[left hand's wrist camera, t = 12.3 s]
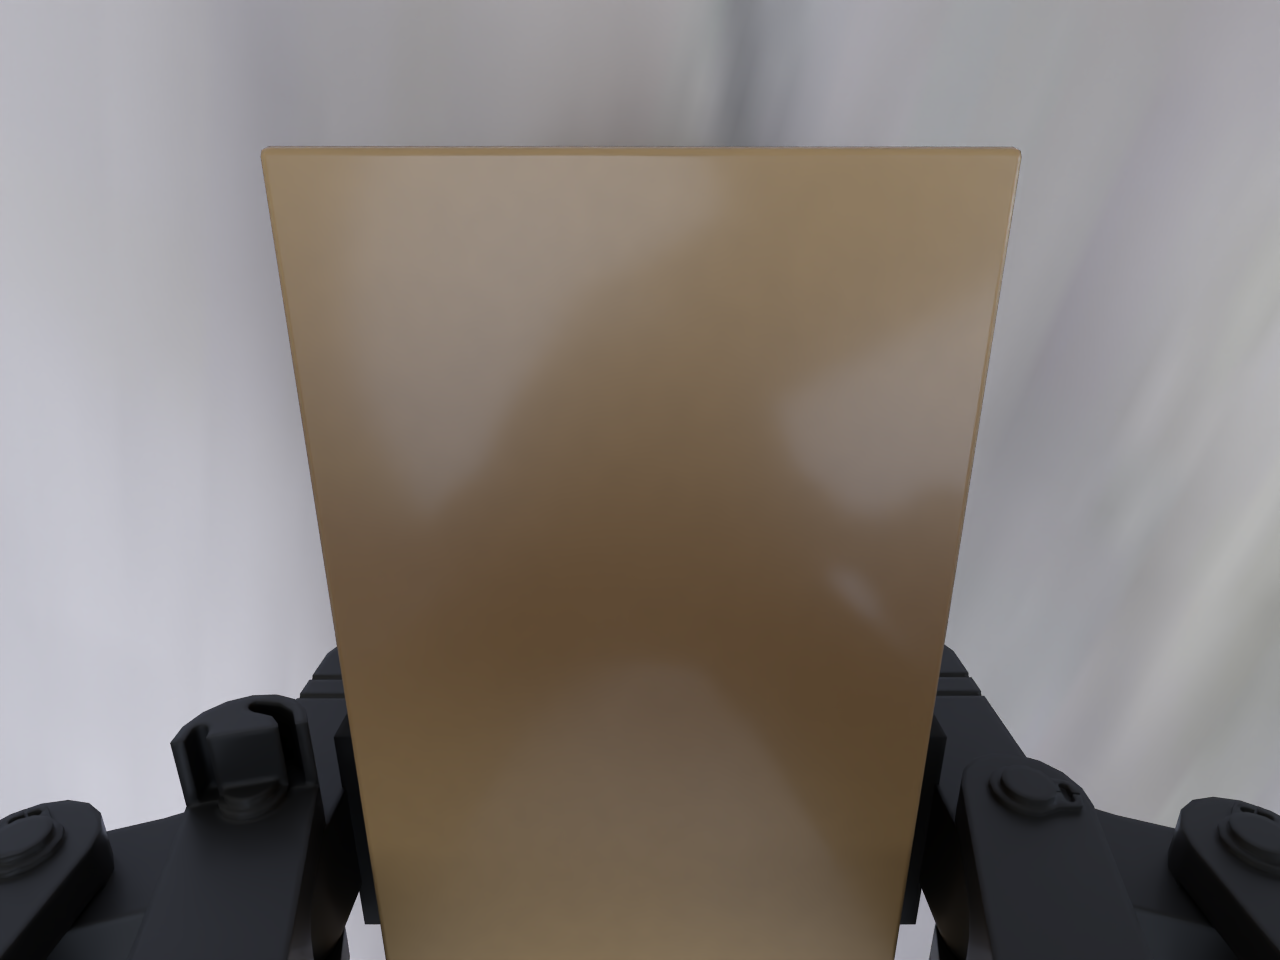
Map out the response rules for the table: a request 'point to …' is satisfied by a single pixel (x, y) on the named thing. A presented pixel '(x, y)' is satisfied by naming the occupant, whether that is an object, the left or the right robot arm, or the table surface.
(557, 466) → the bar
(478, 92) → the table surface
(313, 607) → the table surface
